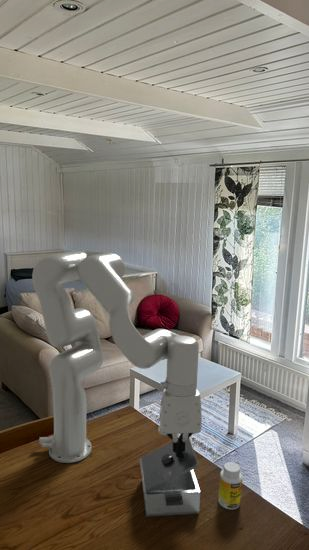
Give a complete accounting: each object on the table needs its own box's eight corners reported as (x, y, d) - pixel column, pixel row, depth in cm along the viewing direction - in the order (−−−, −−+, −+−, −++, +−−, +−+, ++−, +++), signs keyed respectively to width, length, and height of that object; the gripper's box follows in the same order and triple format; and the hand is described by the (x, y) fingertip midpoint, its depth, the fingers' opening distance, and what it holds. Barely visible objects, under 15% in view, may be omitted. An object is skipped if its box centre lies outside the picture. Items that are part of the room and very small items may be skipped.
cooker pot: (147, 521, 98) (147, 499, 97) (141, 476, 114) (142, 457, 113) (200, 518, 99) (201, 496, 98) (187, 474, 115) (188, 454, 114)
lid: (144, 494, 98) (141, 489, 98) (140, 460, 111) (137, 456, 110) (199, 466, 99) (196, 461, 98) (188, 436, 111) (186, 431, 111)
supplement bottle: (228, 514, 101) (231, 476, 99) (213, 500, 105) (215, 464, 104) (245, 505, 104) (247, 469, 102) (229, 492, 109) (232, 457, 107)
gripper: (152, 394, 97) (150, 464, 100) (214, 392, 98) (210, 461, 102) (149, 380, 104) (147, 446, 107) (207, 379, 106) (203, 443, 109)
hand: (178, 453), depth 104 cm, fingers closed
